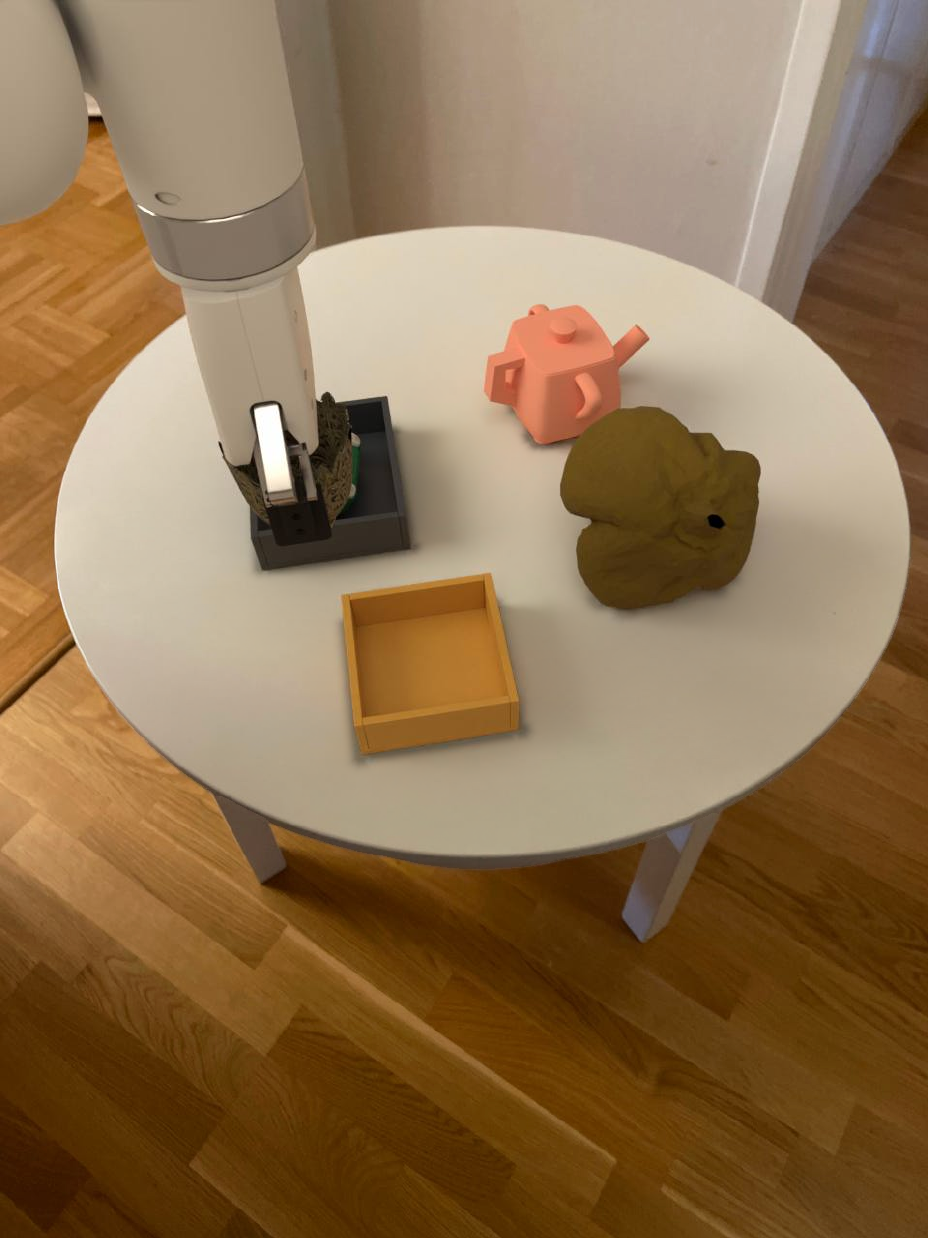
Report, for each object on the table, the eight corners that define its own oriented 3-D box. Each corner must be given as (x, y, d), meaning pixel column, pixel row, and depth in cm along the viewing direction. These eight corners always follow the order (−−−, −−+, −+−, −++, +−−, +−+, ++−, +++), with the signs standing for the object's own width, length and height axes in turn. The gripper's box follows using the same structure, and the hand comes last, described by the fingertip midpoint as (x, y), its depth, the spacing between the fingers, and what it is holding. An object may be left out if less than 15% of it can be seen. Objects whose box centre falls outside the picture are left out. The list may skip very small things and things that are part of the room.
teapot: (644, 391, 86) (658, 301, 78) (591, 474, 80) (600, 385, 72) (531, 355, 90) (534, 265, 82) (473, 432, 84) (470, 343, 76)
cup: (228, 551, 57) (192, 458, 51) (282, 469, 61) (256, 373, 55) (337, 583, 56) (314, 490, 49) (386, 496, 59) (371, 400, 53)
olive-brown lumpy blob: (699, 658, 69) (739, 532, 57) (527, 585, 73) (533, 455, 62) (761, 534, 76) (808, 400, 64) (601, 475, 80) (618, 340, 69)
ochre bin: (361, 755, 65) (354, 726, 62) (348, 626, 72) (340, 594, 68) (518, 730, 66) (519, 700, 63) (491, 605, 72) (490, 572, 69)
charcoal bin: (261, 570, 75) (250, 537, 72) (257, 448, 84) (246, 414, 80) (411, 549, 76) (406, 515, 73) (392, 430, 84) (387, 395, 81)
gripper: (147, 126, 46) (234, 401, 61) (134, 348, 36) (242, 614, 50) (298, 107, 47) (348, 384, 61) (327, 321, 37) (379, 592, 51)
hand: (299, 487), depth 56 cm, fingers closed on cup, 7 cm apart
